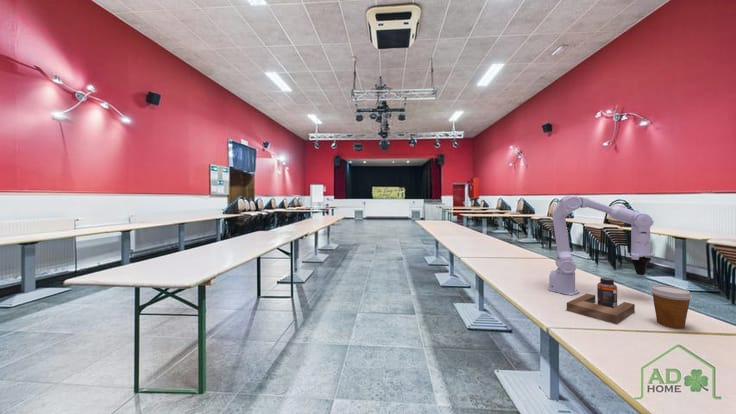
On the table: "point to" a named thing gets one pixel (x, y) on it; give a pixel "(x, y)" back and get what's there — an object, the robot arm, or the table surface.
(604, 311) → the brown u-shaped wooden block
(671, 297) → the disposable coffee cup
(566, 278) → the robot arm
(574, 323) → the table surface
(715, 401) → the table surface
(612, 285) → the supplement bottle
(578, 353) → the table surface
